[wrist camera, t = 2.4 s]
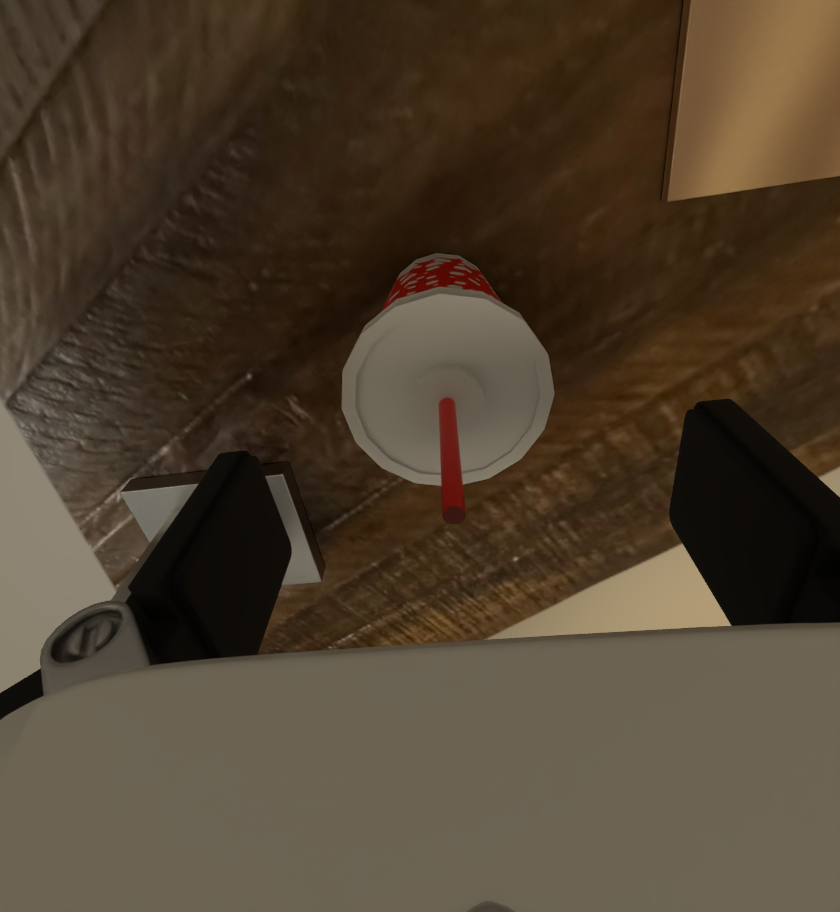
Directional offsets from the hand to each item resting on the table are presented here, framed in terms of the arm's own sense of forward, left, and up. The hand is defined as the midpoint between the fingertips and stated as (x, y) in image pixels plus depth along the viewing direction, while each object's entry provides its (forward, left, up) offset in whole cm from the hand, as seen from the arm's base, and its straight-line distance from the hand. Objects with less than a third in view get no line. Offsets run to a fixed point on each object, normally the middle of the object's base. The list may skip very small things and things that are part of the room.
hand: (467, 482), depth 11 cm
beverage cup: (0, 0, -13) cm, 13 cm away
